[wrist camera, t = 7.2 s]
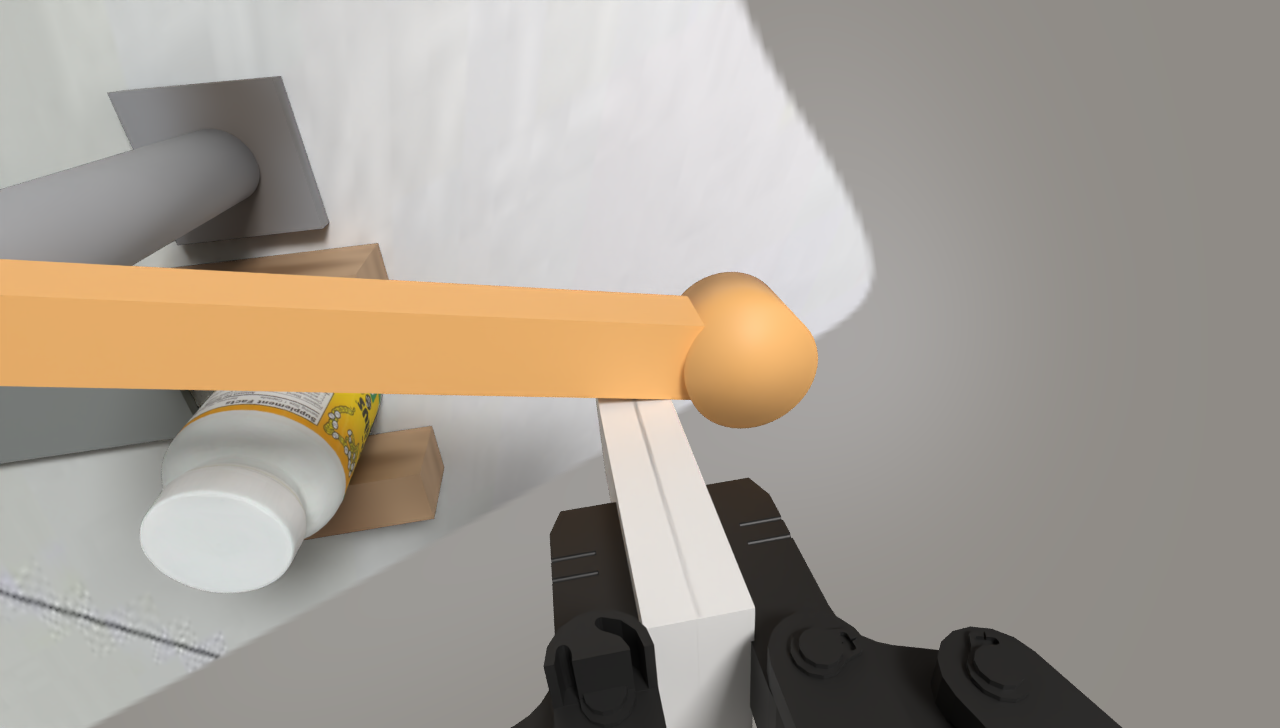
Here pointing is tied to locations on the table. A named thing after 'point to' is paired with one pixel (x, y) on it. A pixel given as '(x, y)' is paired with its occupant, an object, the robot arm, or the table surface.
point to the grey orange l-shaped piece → (347, 310)
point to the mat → (86, 419)
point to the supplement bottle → (253, 484)
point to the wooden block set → (290, 262)
